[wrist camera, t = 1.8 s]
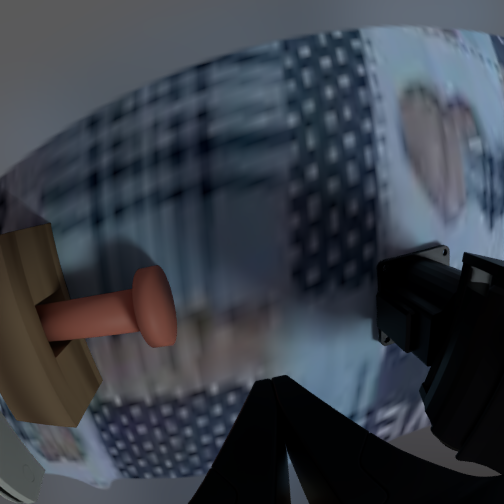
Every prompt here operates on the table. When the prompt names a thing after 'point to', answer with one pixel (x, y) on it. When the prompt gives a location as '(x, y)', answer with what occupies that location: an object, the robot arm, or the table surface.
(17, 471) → the white curved piece
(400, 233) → the table surface
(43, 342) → the block
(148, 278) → the pin
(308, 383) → the table surface
